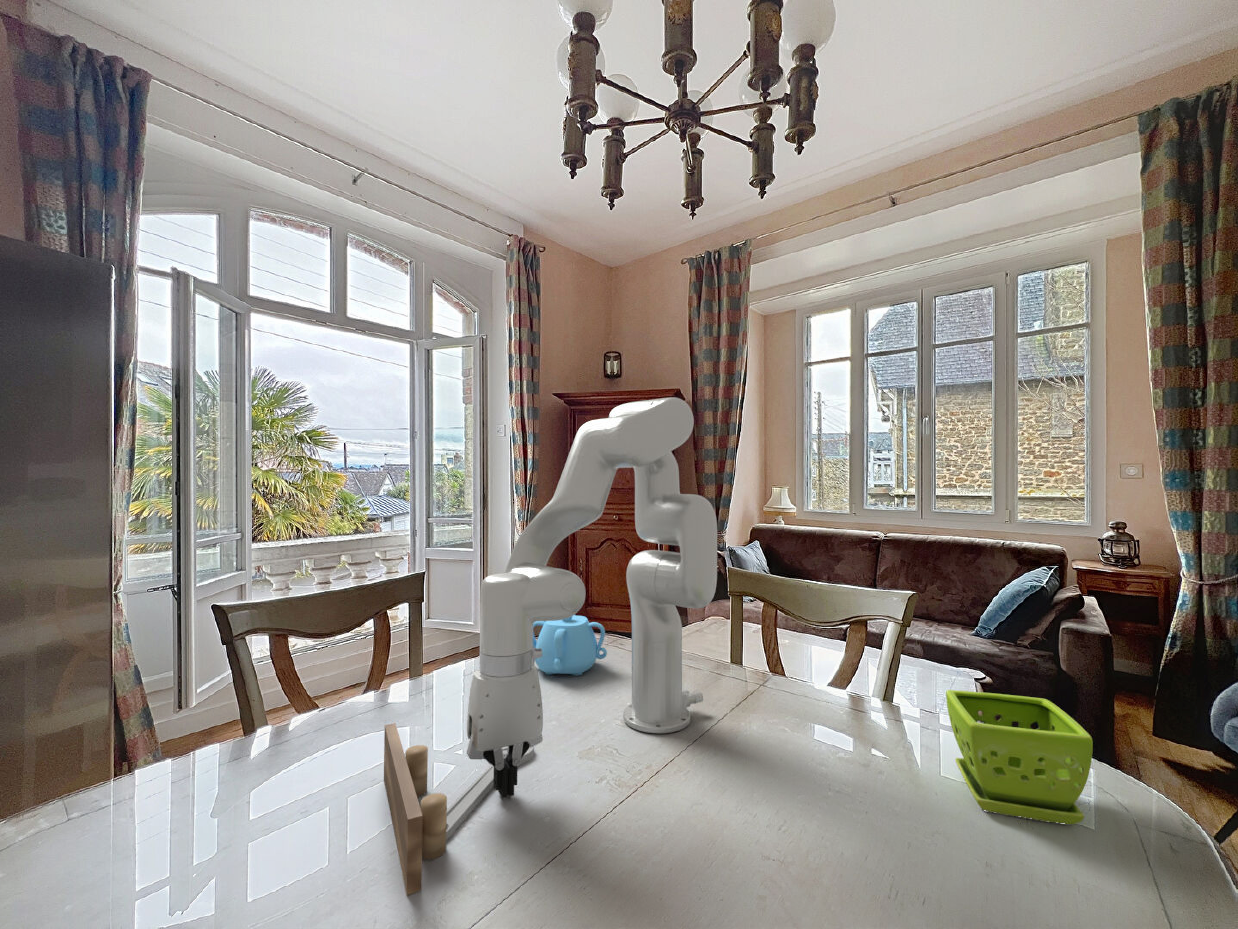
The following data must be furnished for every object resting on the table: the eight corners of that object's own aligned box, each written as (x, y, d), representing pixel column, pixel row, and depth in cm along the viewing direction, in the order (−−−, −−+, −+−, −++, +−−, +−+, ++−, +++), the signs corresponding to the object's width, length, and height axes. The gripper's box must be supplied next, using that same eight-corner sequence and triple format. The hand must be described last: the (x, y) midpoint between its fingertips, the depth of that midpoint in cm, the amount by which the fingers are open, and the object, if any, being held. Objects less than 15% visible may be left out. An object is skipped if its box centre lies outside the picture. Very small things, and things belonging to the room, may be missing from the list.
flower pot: (1052, 784, 80) (1050, 697, 80) (1101, 843, 67) (1098, 739, 67) (944, 768, 85) (943, 685, 85) (970, 820, 71) (968, 723, 72)
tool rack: (420, 770, 83) (421, 718, 84) (456, 878, 61) (457, 806, 61) (383, 779, 81) (384, 725, 81) (406, 895, 58) (407, 819, 58)
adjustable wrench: (442, 850, 66) (442, 835, 66) (400, 838, 68) (400, 824, 68) (539, 752, 90) (539, 742, 90) (505, 746, 92) (505, 736, 92)
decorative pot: (521, 665, 132) (521, 609, 133) (579, 654, 141) (579, 601, 141) (550, 686, 119) (550, 624, 119) (612, 672, 127) (612, 614, 128)
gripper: (546, 647, 84) (545, 767, 83) (447, 662, 77) (445, 793, 76) (565, 661, 78) (564, 791, 77) (459, 678, 70) (457, 822, 70)
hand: (505, 792), depth 77 cm, fingers closed
